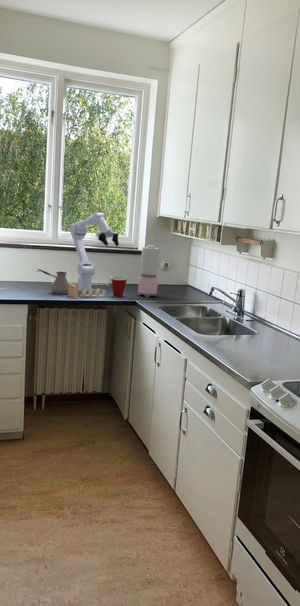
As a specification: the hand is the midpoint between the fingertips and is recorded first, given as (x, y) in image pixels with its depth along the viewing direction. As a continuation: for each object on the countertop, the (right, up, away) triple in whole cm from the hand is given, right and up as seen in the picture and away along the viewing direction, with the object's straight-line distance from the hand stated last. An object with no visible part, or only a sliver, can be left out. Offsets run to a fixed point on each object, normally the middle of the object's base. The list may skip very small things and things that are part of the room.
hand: (112, 245), depth 303 cm
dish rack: (-14, -30, +8) cm, 34 cm away
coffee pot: (-36, -29, +6) cm, 47 cm away
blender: (+21, -30, +26) cm, 45 cm away
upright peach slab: (-24, -31, +1) cm, 39 cm away
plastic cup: (+2, -30, +15) cm, 34 cm away
